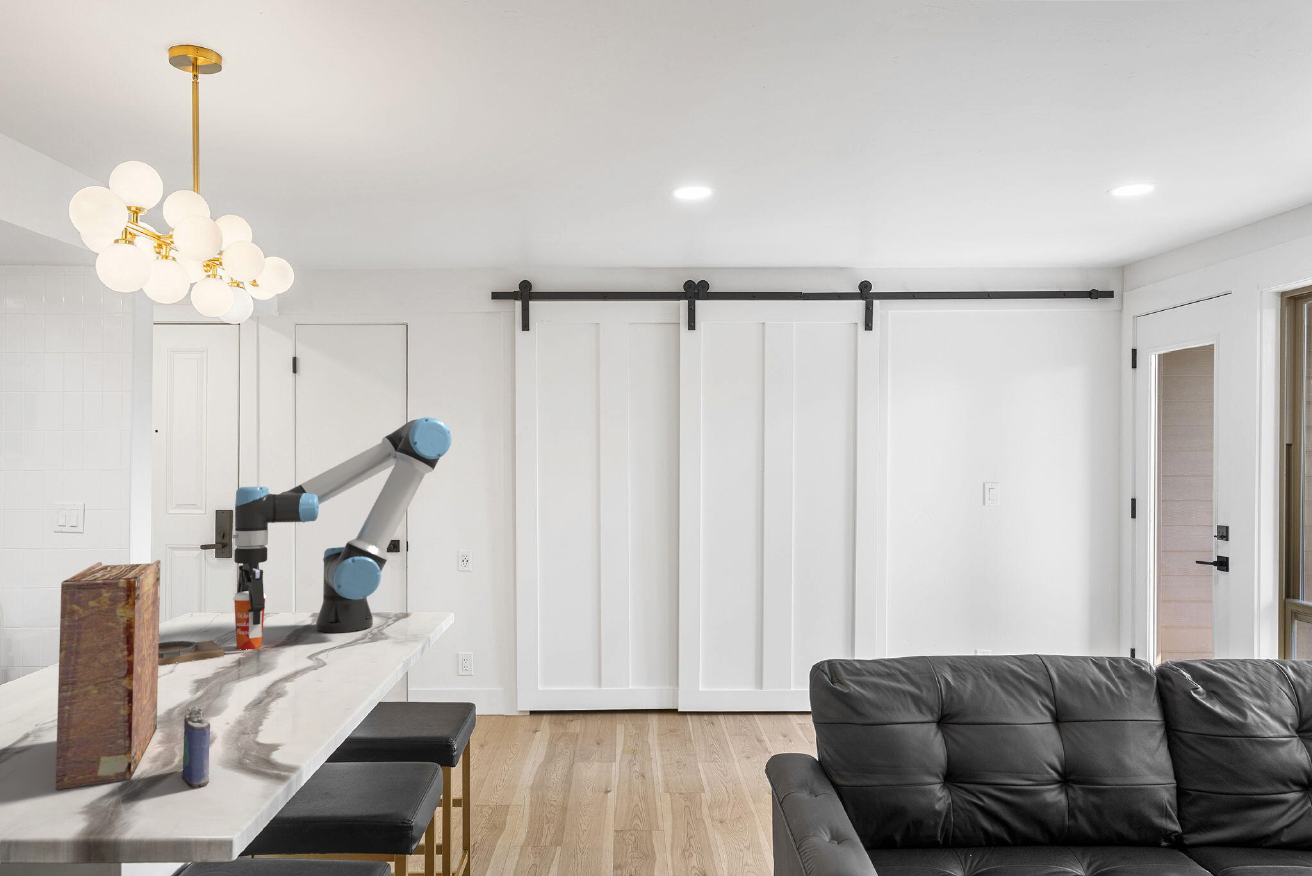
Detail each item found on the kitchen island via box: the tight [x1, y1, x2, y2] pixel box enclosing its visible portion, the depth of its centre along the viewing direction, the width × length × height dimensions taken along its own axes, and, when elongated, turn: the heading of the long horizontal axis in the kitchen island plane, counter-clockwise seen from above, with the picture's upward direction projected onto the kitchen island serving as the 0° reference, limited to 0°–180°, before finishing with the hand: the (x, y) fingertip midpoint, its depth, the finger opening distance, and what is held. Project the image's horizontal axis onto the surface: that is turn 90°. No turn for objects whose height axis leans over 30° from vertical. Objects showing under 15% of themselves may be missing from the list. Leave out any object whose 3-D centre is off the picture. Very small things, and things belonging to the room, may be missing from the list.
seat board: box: [158, 639, 225, 666], centre depth 188 cm, size 22×14×3 cm, turn 131°
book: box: [55, 559, 161, 791], centre depth 126 cm, size 25×9×30 cm, turn 25°
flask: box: [181, 705, 211, 789], centre depth 117 cm, size 9×3×11 cm, turn 39°
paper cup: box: [232, 591, 267, 651], centre depth 199 cm, size 8×8×14 cm
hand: (249, 633), depth 199 cm, fingers open, 10 cm apart
